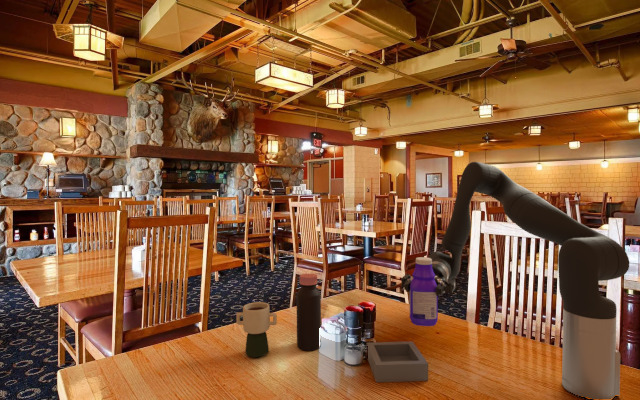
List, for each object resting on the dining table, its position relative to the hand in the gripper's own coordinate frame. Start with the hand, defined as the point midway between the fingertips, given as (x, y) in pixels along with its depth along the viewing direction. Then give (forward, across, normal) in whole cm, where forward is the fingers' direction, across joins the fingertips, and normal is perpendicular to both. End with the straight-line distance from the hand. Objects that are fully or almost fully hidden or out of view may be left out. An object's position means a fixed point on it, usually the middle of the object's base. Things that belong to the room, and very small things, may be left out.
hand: (422, 290), depth 95 cm
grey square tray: (+9, -4, +18) cm, 20 cm away
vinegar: (+8, -30, +18) cm, 35 cm away
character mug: (+18, -40, +18) cm, 47 cm away
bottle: (-2, 0, +10) cm, 10 cm away
